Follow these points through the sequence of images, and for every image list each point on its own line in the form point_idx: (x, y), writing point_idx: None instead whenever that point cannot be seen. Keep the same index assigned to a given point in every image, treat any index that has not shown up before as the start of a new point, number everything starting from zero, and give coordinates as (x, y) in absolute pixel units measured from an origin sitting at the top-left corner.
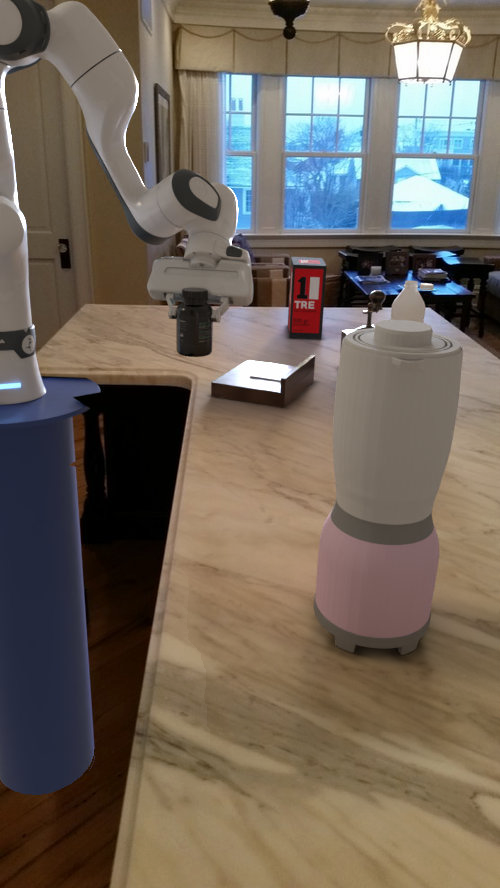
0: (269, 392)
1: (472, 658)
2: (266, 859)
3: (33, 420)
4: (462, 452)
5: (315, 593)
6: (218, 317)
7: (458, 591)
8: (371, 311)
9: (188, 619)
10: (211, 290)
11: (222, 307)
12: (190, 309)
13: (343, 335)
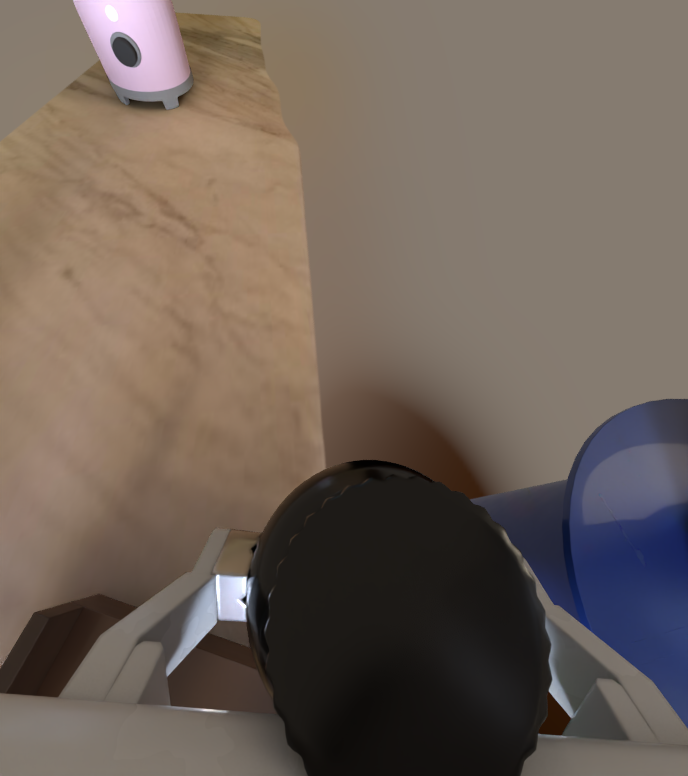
0: (118, 617)
1: (101, 69)
2: (239, 20)
3: (605, 427)
4: None
5: (188, 77)
6: (216, 529)
7: (70, 108)
8: None
9: (278, 96)
10: (221, 756)
11: (164, 589)
12: (383, 466)
13: None
